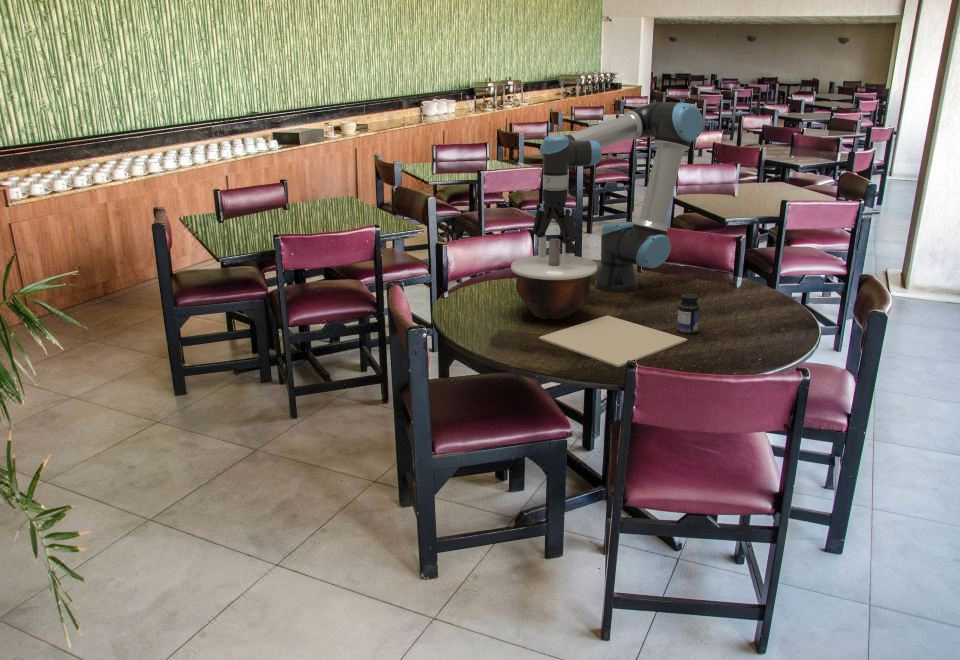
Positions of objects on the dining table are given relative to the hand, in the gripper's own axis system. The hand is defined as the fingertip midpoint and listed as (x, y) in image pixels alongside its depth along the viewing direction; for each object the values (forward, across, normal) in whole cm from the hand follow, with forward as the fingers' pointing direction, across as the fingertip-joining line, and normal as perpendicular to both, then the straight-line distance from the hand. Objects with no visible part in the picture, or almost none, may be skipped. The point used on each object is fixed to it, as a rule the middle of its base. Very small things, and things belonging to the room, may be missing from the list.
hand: (553, 260), depth 239 cm
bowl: (+18, 0, 0) cm, 18 cm away
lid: (+3, 0, 0) cm, 3 cm away
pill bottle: (+18, +39, +17) cm, 46 cm away
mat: (+18, +29, -5) cm, 34 cm away
